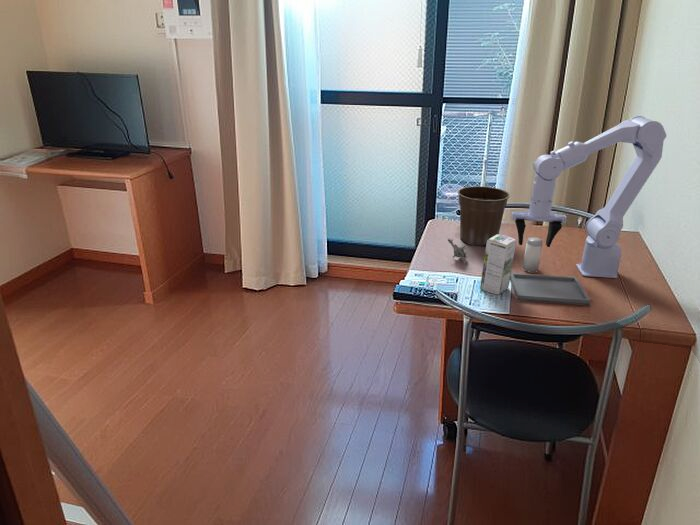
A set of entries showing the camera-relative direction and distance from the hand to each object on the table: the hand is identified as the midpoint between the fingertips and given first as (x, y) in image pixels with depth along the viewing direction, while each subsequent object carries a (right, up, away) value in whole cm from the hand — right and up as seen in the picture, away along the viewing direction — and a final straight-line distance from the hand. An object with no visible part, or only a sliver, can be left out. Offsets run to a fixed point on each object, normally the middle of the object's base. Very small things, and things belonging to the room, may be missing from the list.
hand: (533, 244), depth 155 cm
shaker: (0, -7, +3) cm, 8 cm away
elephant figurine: (-20, -4, +9) cm, 23 cm away
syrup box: (-14, -12, -9) cm, 21 cm away
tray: (0, -13, -10) cm, 16 cm away
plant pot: (-10, +2, +25) cm, 27 cm away
